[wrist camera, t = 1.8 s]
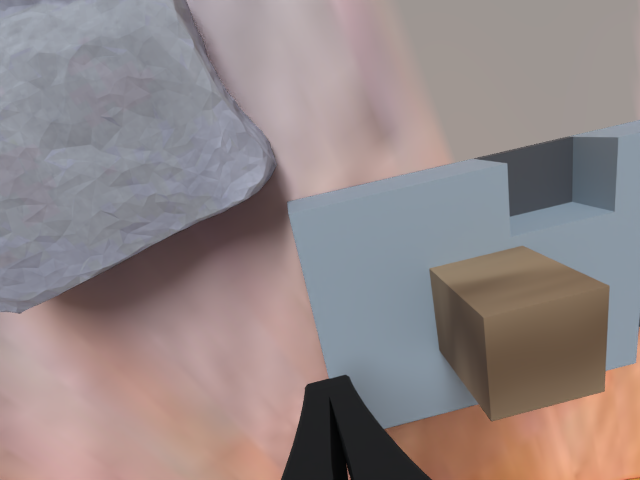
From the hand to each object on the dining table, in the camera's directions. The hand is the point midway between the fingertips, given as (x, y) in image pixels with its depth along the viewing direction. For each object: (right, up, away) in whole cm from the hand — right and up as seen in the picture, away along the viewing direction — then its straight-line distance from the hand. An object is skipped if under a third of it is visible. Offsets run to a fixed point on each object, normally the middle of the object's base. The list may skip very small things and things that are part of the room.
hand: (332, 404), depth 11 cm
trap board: (+10, +4, +6) cm, 13 cm away
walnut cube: (+6, +3, +4) cm, 8 cm away
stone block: (-9, +10, +3) cm, 14 cm away
